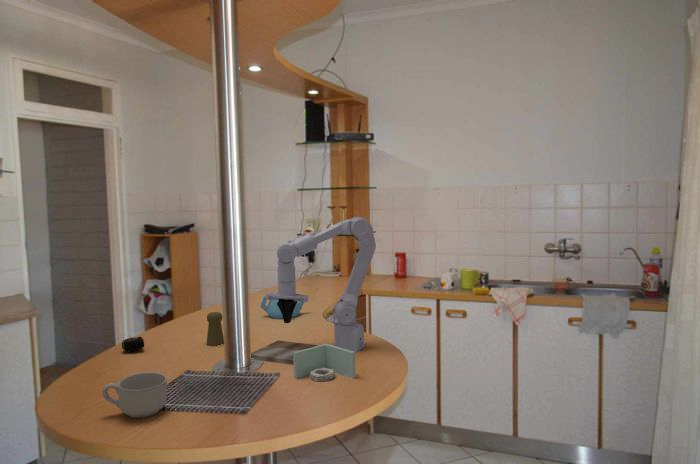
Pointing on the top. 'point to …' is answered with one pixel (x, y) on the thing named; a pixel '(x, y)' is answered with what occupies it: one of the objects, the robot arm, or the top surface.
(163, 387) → the teacup
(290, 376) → the top surface
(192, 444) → the top surface
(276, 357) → the grey oak plank
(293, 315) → the teapot
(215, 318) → the brown tall rounded piece
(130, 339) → the tape measure
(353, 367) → the l-shaped corner panel
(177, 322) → the top surface
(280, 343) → the walnut floor row
